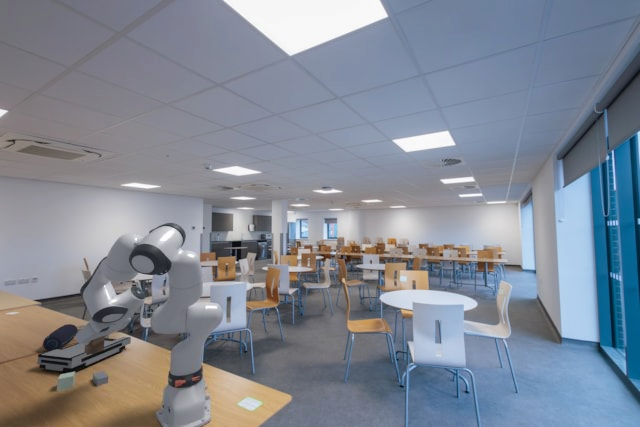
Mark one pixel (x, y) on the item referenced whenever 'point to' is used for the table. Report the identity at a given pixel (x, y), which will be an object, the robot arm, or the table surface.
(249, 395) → the table surface
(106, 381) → the grey flat brick
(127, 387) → the table surface
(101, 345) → the walnut column
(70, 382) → the sage cube
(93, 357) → the game console
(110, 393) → the table surface
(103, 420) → the table surface
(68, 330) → the portable speaker
